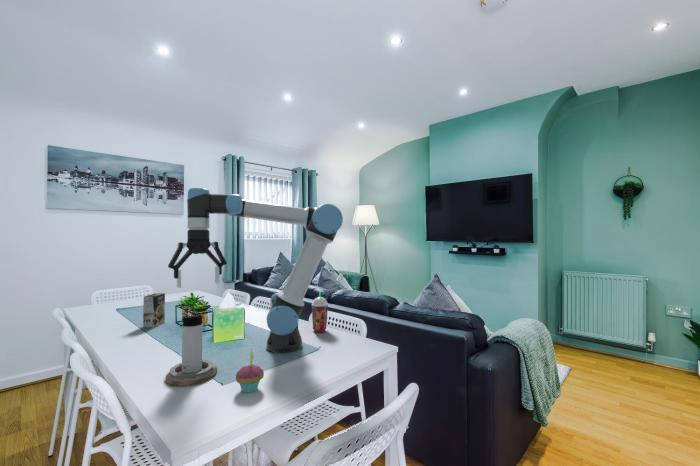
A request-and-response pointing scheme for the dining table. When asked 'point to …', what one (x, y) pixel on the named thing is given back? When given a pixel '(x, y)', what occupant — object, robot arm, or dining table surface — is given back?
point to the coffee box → (154, 310)
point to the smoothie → (319, 314)
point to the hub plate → (180, 384)
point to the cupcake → (249, 376)
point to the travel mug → (192, 344)
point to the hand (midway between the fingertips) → (198, 285)
